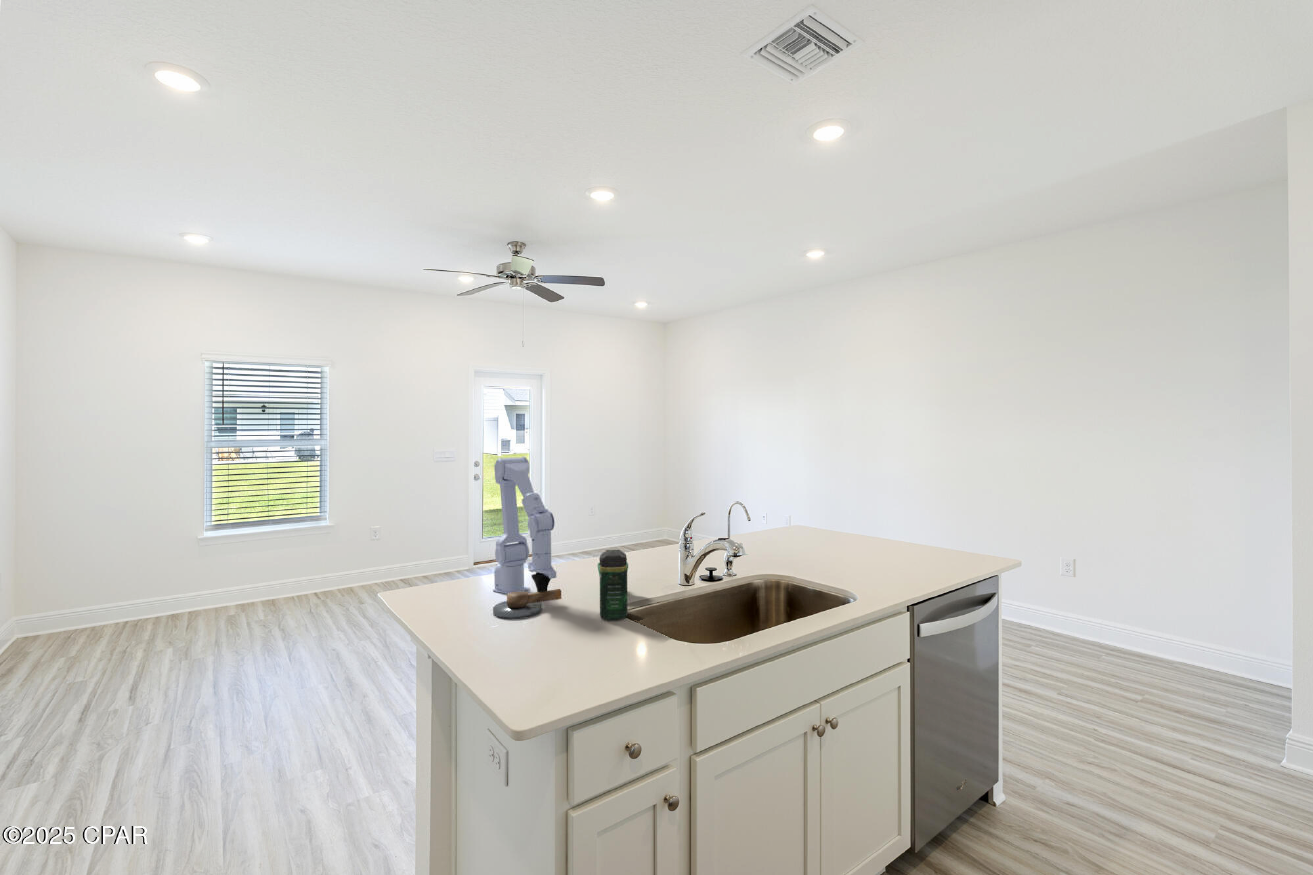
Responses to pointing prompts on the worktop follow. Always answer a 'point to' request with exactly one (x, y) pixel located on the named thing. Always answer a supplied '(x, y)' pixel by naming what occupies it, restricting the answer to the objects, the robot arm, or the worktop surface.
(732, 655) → the worktop surface
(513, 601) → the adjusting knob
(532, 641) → the worktop surface
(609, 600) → the coffee jar
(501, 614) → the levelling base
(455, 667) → the worktop surface
